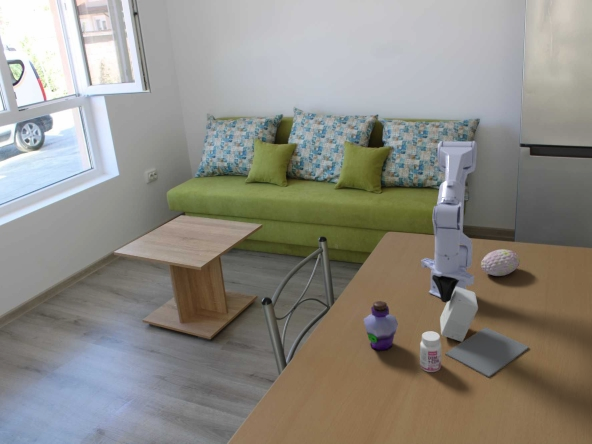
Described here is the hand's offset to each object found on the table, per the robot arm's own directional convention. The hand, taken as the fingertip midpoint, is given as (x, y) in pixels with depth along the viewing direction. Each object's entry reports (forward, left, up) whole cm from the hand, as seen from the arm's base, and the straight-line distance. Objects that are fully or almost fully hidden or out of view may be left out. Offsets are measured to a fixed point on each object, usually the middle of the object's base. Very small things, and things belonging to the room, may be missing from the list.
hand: (446, 300), depth 138 cm
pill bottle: (+7, -14, -9) cm, 18 cm away
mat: (+12, 0, -9) cm, 15 cm away
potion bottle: (-7, -16, -9) cm, 20 cm away
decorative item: (-8, +36, -9) cm, 38 cm away
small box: (+1, 0, -8) cm, 8 cm away
